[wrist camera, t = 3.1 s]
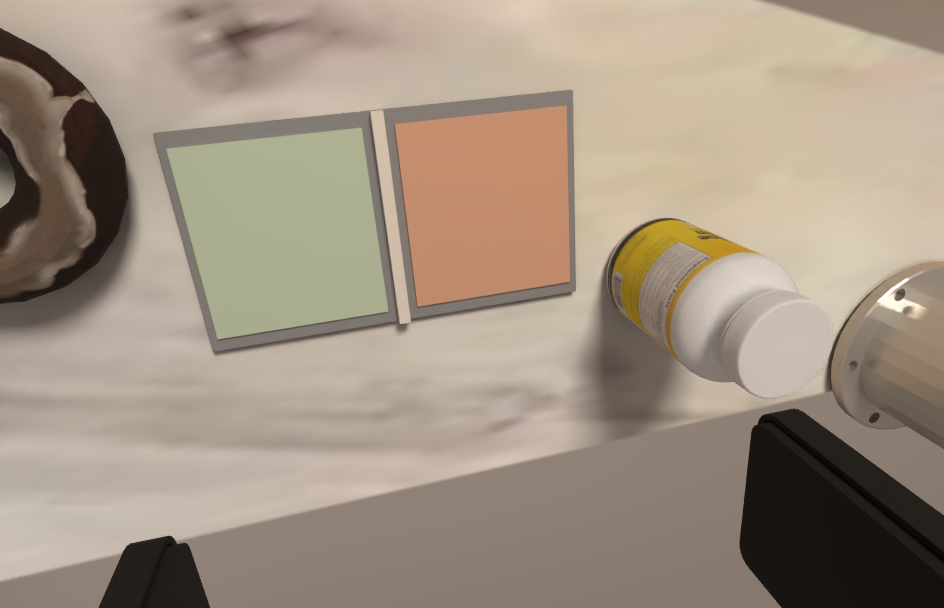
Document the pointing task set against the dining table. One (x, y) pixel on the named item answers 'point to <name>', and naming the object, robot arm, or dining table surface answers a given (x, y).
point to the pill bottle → (719, 307)
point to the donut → (54, 174)
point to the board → (374, 214)
